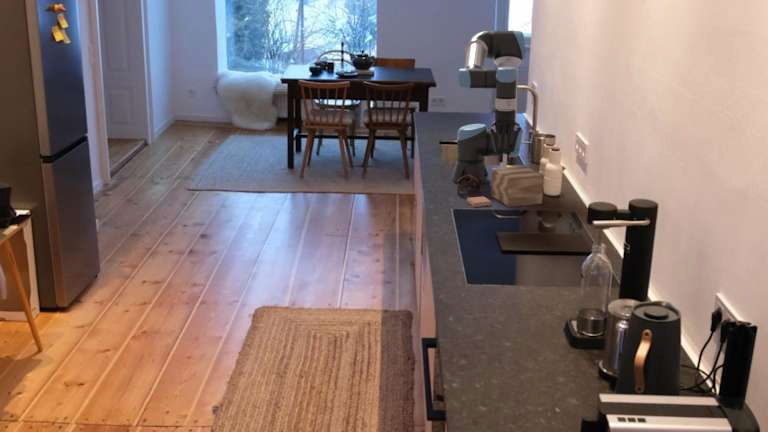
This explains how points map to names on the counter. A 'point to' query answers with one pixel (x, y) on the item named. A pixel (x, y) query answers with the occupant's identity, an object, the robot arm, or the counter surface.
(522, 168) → the oak block
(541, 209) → the counter surface
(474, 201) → the tile
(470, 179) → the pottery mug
